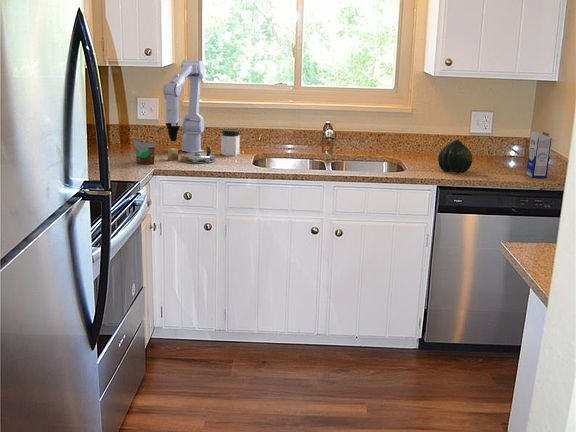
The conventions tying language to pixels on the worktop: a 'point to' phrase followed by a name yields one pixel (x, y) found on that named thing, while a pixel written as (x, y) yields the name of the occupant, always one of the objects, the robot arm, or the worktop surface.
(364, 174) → the worktop surface
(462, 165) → the squash
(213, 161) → the base plate
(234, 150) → the jar
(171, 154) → the beige upright block
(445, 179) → the worktop surface
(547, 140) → the milk carton
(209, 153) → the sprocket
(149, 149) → the food container
